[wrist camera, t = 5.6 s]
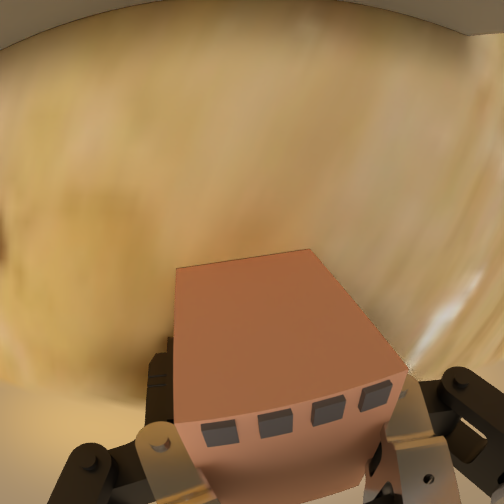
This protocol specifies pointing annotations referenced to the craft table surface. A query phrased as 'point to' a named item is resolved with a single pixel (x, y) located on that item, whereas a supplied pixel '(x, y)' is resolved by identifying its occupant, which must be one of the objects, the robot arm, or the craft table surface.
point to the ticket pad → (90, 3)
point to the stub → (278, 379)
